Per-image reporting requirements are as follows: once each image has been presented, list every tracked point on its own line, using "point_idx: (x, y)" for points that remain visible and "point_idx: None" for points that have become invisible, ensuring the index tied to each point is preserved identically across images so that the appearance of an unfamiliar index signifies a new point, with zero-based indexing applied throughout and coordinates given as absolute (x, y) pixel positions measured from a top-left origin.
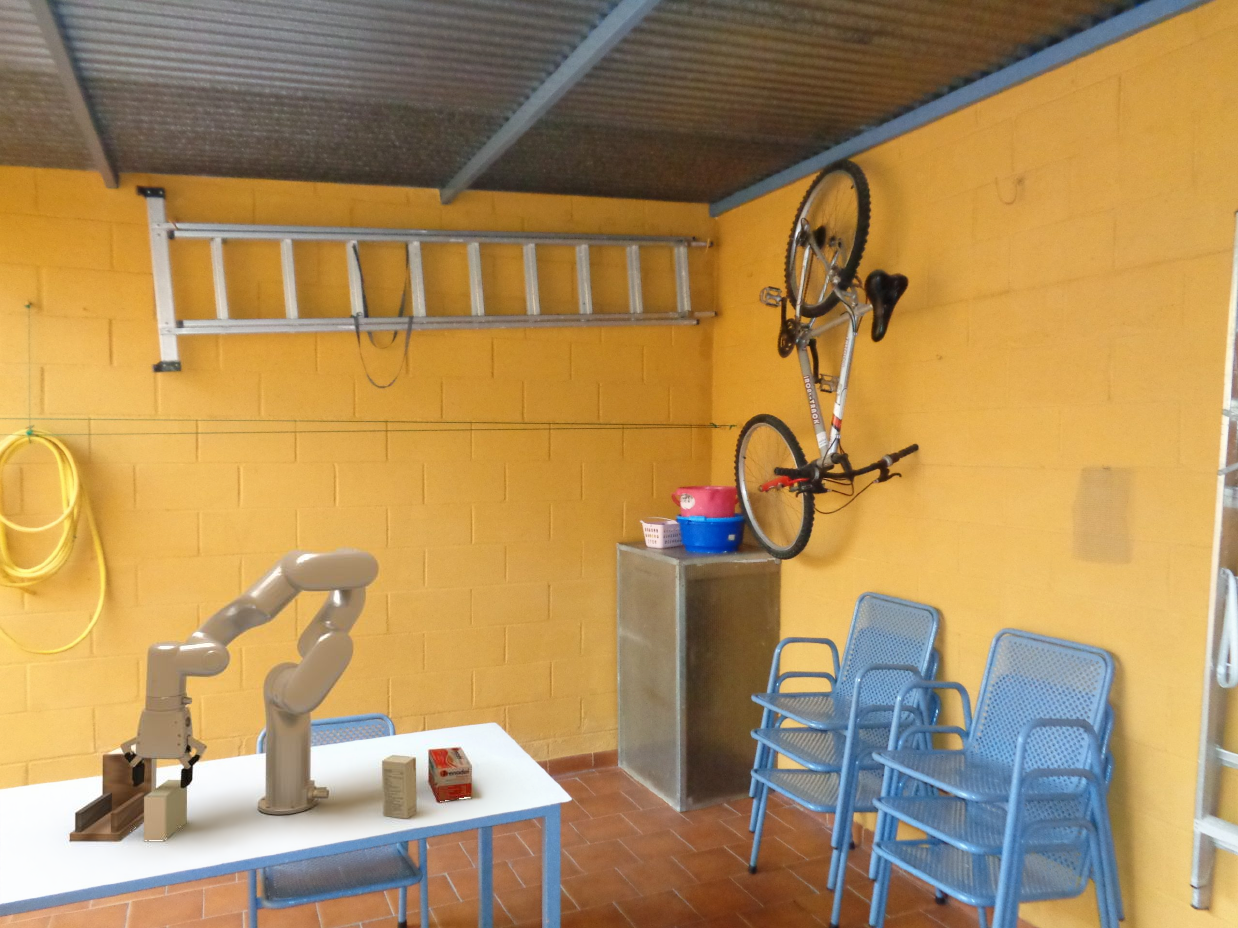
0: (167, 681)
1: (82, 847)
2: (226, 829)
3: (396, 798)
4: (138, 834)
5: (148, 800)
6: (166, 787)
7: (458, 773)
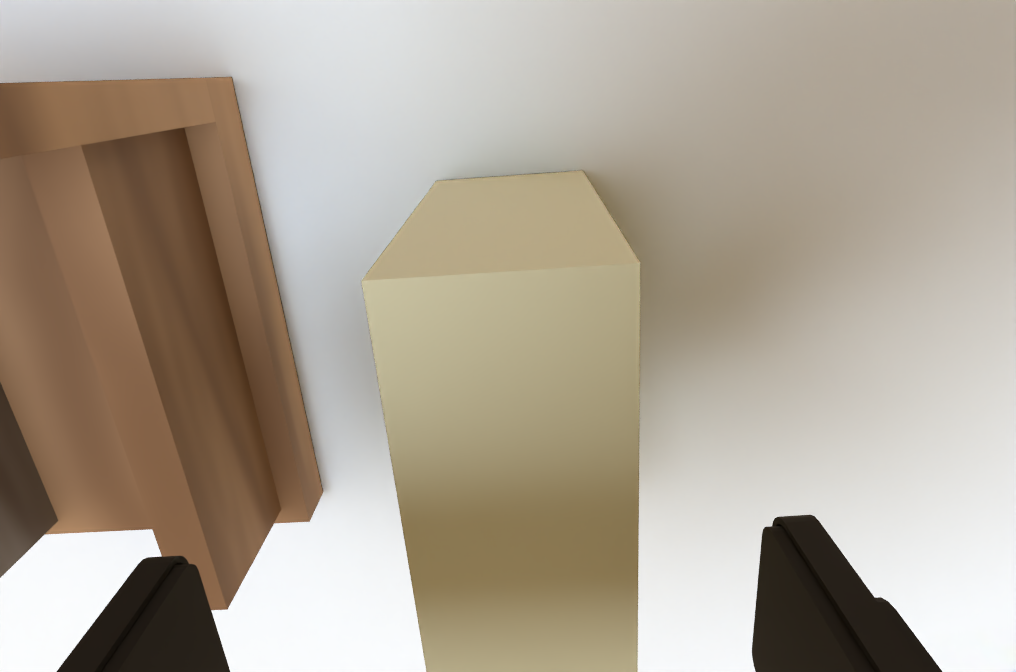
0: None
1: None
2: (935, 283)
3: None
4: (371, 401)
5: None
6: (512, 532)
7: None
